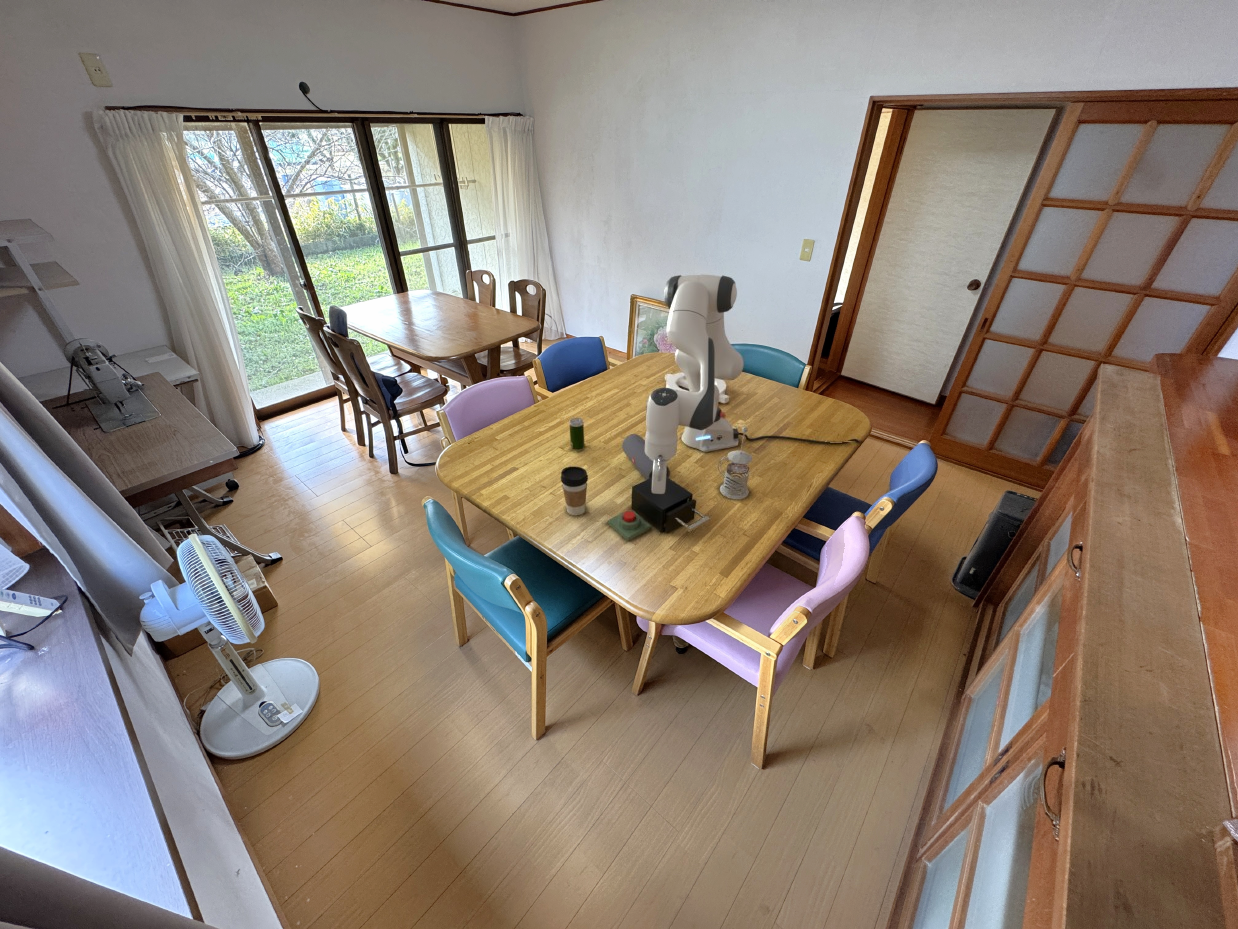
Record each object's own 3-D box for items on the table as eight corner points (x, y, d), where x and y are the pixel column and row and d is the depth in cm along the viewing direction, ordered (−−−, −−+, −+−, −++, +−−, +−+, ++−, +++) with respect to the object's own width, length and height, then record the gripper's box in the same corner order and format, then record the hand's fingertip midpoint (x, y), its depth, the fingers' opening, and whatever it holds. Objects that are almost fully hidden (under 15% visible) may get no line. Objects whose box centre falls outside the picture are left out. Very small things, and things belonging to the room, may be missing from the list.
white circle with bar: (729, 406, 219) (730, 396, 216) (667, 405, 219) (668, 395, 216) (719, 380, 242) (720, 371, 240) (663, 380, 242) (664, 371, 240)
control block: (650, 529, 149) (650, 520, 147) (627, 541, 145) (628, 532, 143) (630, 512, 156) (630, 504, 154) (607, 523, 151) (607, 515, 149)
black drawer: (711, 531, 147) (714, 512, 143) (684, 547, 142) (686, 528, 138) (665, 497, 161) (666, 480, 157) (639, 511, 155) (639, 493, 151)
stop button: (637, 519, 148) (637, 515, 147) (628, 524, 147) (628, 519, 146) (630, 513, 151) (630, 509, 150) (621, 518, 149) (621, 513, 148)
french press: (742, 502, 161) (755, 438, 147) (710, 491, 166) (719, 428, 152) (752, 487, 167) (765, 425, 153) (721, 477, 173) (730, 415, 159)
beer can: (575, 452, 185) (573, 425, 179) (568, 446, 189) (566, 419, 182) (587, 448, 188) (586, 421, 181) (580, 442, 192) (579, 416, 185)
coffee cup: (563, 502, 160) (560, 464, 152) (588, 501, 161) (587, 463, 152) (562, 518, 153) (560, 480, 145) (589, 517, 154) (588, 479, 145)
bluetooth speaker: (620, 458, 183) (620, 435, 177) (642, 452, 186) (643, 430, 180) (646, 491, 165) (647, 467, 160) (670, 485, 168) (672, 461, 163)
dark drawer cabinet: (690, 516, 154) (693, 494, 149) (661, 532, 148) (662, 509, 143) (660, 494, 164) (661, 472, 159) (631, 508, 158) (631, 486, 152)
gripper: (672, 468, 123) (668, 510, 131) (672, 429, 140) (669, 468, 148) (647, 467, 124) (645, 509, 132) (650, 427, 141) (648, 466, 149)
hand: (658, 487), depth 140 cm, fingers closed
